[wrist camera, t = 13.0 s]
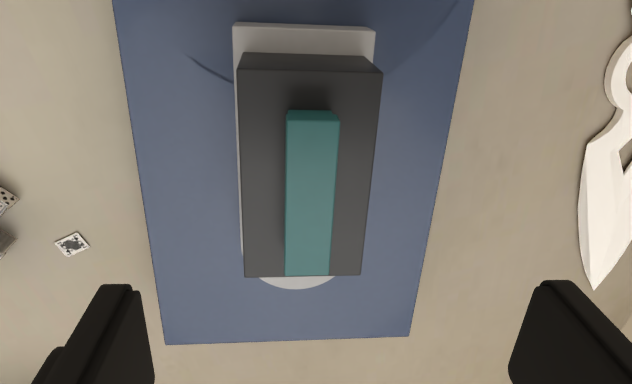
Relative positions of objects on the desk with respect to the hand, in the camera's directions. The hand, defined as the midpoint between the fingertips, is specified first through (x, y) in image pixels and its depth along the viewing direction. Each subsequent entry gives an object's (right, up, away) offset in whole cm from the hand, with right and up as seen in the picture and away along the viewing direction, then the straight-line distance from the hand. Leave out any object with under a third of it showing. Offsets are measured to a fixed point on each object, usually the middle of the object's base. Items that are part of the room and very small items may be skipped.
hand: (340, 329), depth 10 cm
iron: (-2, +5, +12) cm, 13 cm away
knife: (+20, +8, +17) cm, 27 cm away
